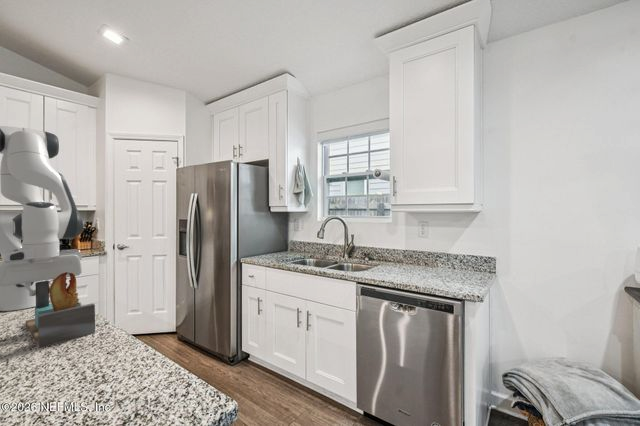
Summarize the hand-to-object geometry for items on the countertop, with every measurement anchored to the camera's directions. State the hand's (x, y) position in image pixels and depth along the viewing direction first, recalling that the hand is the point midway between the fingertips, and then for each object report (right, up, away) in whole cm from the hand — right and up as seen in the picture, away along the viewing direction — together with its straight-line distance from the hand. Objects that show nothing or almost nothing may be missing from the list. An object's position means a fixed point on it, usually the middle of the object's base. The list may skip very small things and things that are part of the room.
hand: (42, 294), depth 96 cm
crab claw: (+11, -12, -4) cm, 17 cm away
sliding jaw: (+4, -10, +2) cm, 11 cm away
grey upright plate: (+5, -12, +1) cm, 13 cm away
